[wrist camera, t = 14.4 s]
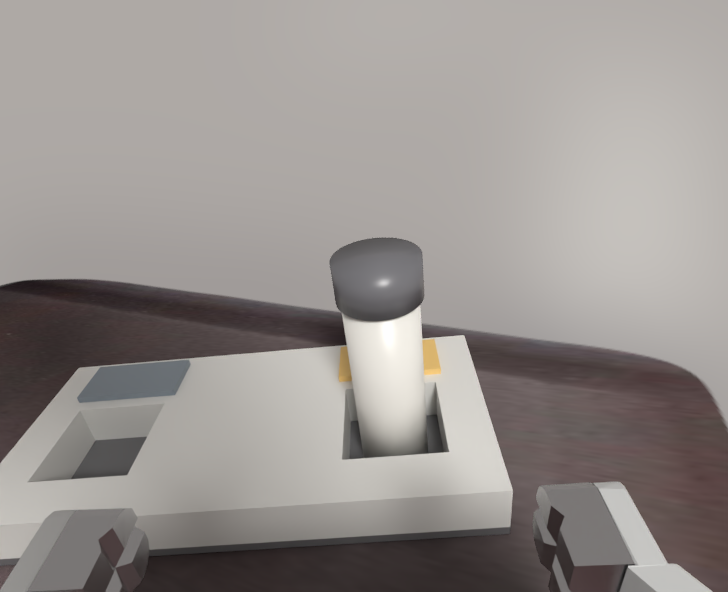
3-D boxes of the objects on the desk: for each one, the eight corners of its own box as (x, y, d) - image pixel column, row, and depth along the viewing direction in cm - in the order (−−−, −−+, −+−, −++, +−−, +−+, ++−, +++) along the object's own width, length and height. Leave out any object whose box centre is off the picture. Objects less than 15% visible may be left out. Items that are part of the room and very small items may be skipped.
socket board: (-22, 567, 24) (-59, 523, 22) (95, 401, 34) (76, 363, 33) (509, 533, 23) (513, 484, 21) (464, 371, 33) (464, 330, 31)
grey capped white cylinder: (359, 484, 25) (326, 283, 19) (360, 427, 29) (332, 242, 23) (436, 478, 25) (427, 273, 19) (427, 422, 29) (417, 234, 23)
